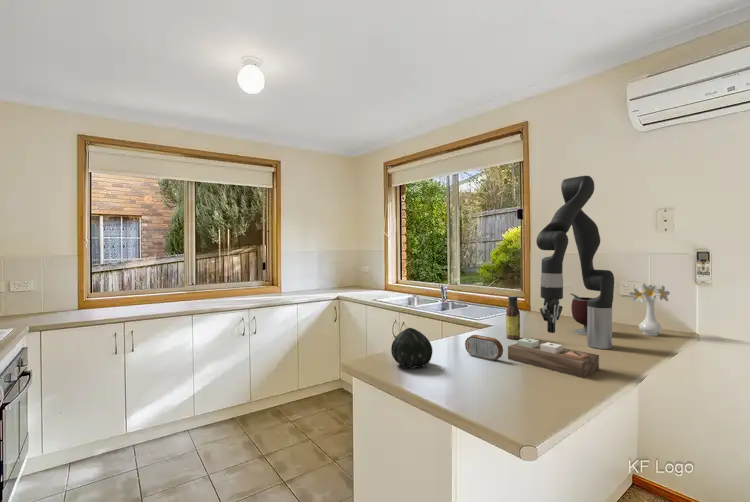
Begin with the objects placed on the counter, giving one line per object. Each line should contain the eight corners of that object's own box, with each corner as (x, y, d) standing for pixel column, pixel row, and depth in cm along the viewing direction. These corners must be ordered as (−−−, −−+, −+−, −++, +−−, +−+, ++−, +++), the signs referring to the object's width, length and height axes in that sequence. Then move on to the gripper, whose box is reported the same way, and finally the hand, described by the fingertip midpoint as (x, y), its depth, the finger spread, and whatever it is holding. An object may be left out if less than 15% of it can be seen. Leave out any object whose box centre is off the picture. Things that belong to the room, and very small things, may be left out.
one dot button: (547, 351, 144) (547, 341, 144) (562, 354, 139) (562, 344, 139) (540, 354, 140) (540, 344, 140) (555, 357, 136) (555, 347, 136)
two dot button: (525, 346, 151) (525, 337, 151) (539, 349, 146) (539, 340, 146) (517, 349, 147) (517, 339, 147) (531, 352, 143) (531, 342, 143)
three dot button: (572, 360, 137) (572, 350, 137) (588, 364, 132) (588, 353, 132) (565, 363, 133) (565, 352, 133) (581, 367, 129) (581, 356, 129)
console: (526, 352, 155) (527, 340, 155) (598, 369, 134) (598, 355, 134) (507, 359, 146) (507, 346, 146) (581, 377, 125) (581, 362, 125)
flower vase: (625, 334, 187) (625, 283, 187) (646, 330, 195) (646, 281, 195) (655, 339, 175) (655, 286, 175) (675, 335, 184) (676, 284, 184)
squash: (423, 342, 149) (402, 316, 145) (446, 354, 136) (423, 325, 131) (399, 370, 145) (376, 344, 140) (420, 384, 132) (395, 356, 127)
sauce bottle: (521, 340, 175) (521, 297, 175) (507, 339, 177) (507, 296, 176) (518, 336, 182) (518, 295, 182) (505, 336, 183) (505, 295, 183)
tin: (503, 361, 144) (503, 339, 143) (499, 363, 141) (499, 340, 141) (467, 353, 154) (467, 332, 154) (463, 355, 151) (463, 334, 151)
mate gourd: (591, 329, 197) (591, 291, 197) (609, 335, 183) (609, 294, 183) (562, 330, 196) (562, 291, 196) (578, 336, 182) (579, 295, 182)
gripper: (550, 283, 147) (549, 328, 147) (532, 285, 138) (532, 333, 138) (570, 285, 141) (569, 331, 141) (553, 287, 132) (552, 336, 132)
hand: (551, 332), depth 140 cm, fingers closed
